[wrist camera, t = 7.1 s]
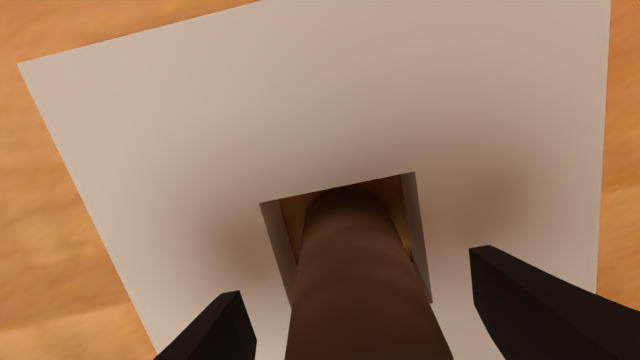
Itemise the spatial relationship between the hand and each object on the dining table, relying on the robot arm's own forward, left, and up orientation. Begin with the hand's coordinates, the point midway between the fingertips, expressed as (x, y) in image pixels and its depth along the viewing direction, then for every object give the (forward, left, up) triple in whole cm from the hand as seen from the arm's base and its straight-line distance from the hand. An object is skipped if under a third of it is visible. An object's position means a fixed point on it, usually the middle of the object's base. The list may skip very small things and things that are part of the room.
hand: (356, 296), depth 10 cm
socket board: (0, 0, -5) cm, 5 cm away
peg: (0, 0, -5) cm, 5 cm away
